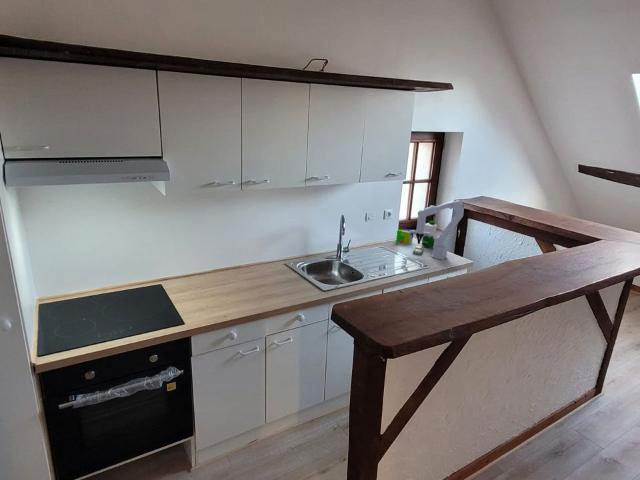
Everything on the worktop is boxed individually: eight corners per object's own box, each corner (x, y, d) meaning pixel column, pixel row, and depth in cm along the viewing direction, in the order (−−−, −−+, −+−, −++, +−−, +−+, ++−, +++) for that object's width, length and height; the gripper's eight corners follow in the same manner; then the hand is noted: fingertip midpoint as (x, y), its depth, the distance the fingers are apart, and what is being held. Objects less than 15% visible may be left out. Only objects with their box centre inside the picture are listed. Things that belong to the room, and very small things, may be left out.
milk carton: (435, 246, 323) (438, 222, 317) (429, 249, 317) (432, 223, 311) (425, 244, 329) (429, 219, 323) (419, 246, 323) (422, 221, 317)
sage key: (420, 253, 303) (420, 251, 302) (414, 252, 304) (414, 250, 303) (420, 251, 306) (420, 249, 306) (415, 250, 307) (415, 249, 307)
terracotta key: (421, 247, 312) (422, 246, 311) (416, 247, 313) (416, 245, 312) (422, 246, 315) (422, 244, 315) (417, 245, 317) (417, 243, 316)
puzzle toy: (412, 241, 333) (413, 230, 330) (407, 244, 325) (409, 232, 322) (400, 239, 338) (401, 227, 335) (396, 242, 330) (397, 230, 327)
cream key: (421, 249, 307) (421, 247, 307) (415, 249, 308) (415, 247, 308) (421, 248, 311) (421, 246, 310) (416, 247, 312) (416, 245, 311)
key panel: (421, 255, 301) (421, 252, 301) (412, 253, 303) (413, 251, 302) (423, 248, 317) (423, 246, 316) (415, 247, 318) (415, 244, 318)
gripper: (431, 225, 301) (429, 243, 305) (411, 223, 305) (409, 240, 309) (430, 227, 294) (428, 245, 298) (410, 225, 299) (408, 243, 302)
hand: (418, 243), depth 303 cm, fingers closed
